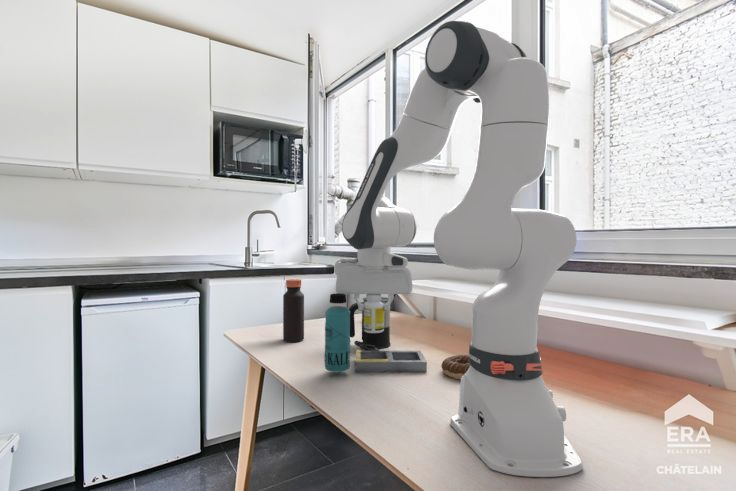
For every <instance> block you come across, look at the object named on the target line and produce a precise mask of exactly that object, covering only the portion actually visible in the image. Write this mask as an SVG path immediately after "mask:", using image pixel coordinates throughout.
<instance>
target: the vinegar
mask: <svg viewBox="0 0 736 491" xmlns="http://www.w3.org/2000/svg"><path fill="white" fill-rule="evenodd" d="M285 287H286V289H287V290H286V292H284V294H283V298H282V303H283V304H282V309H283V310H282V313H283V314H282V318H283V319H282V320H283V321H282V323H283V324H282V334H283V335H282V337H283V342H285V341H286V342H285V343H292V342H293V343H298V342H297V341H300V342H303V341H304V340H303V339H305V295H304V293H303V292H302V290H301V288H302V279H299V278H295V279H293V278H291V279H290V278H289V279H286V281H285ZM302 340H303V341H302Z"/></svg>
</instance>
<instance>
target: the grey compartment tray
mask: <svg viewBox="0 0 736 491" xmlns="http://www.w3.org/2000/svg"><path fill="white" fill-rule="evenodd" d="M427 364H428V362H427V360H426V358H425V356H424V354H423V352H422V350H379V351H365V350H362V349H356V350H355V373H427Z"/></svg>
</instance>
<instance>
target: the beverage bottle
mask: <svg viewBox="0 0 736 491" xmlns="http://www.w3.org/2000/svg"><path fill="white" fill-rule="evenodd" d="M329 303H330V304H346V303H347V294H341V293H337V292H336V293H331V294H330V295H329ZM324 313H325V323H324V325H325V326H324V352H323V353H324V355H323V356H324V364H323V365H324V368H325V370H326V371H328V372H330V373H331V372H333V373H339V372H340V373H342V372H346V371H348V370H349V369H350V366H351V337H350V311H349V308H348V307H346V306H340V305H337V306H336V305H335V306H334V305H333V306H329V308H327V309H326V310H325V312H324Z"/></svg>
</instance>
